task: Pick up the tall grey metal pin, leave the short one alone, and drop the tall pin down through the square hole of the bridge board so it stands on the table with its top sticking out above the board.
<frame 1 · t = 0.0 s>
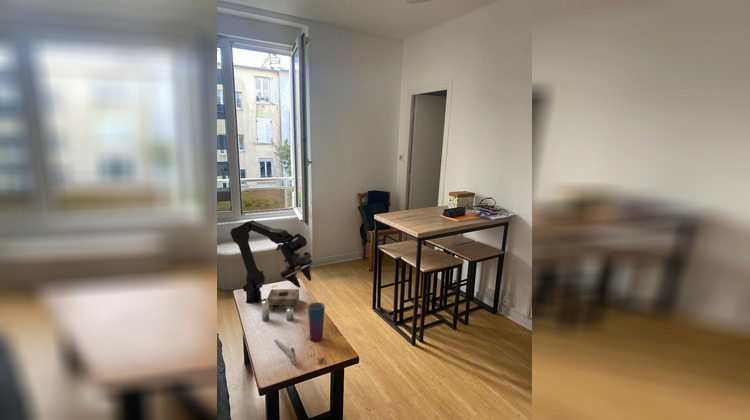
hand: (305, 283, 176), 15 cm above the table, tool tilted 35°, fingers open, 9 cm apart
long pin: (265, 319, 171), on the table
cup: (316, 339, 156), on the table
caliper: (284, 353, 146), on the table
bridge board: (283, 305, 186), on the table
short pin: (290, 319, 172), on the table
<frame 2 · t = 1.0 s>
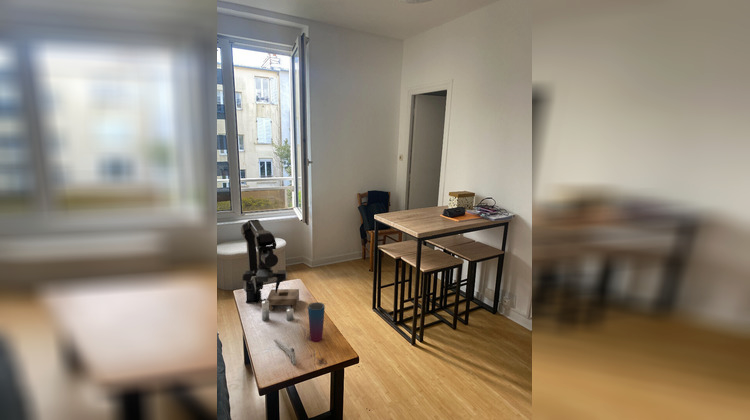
hand: (265, 293, 169), 13 cm above the table, tool pointing down, fingers open, 9 cm apart
nothing on the table moved.
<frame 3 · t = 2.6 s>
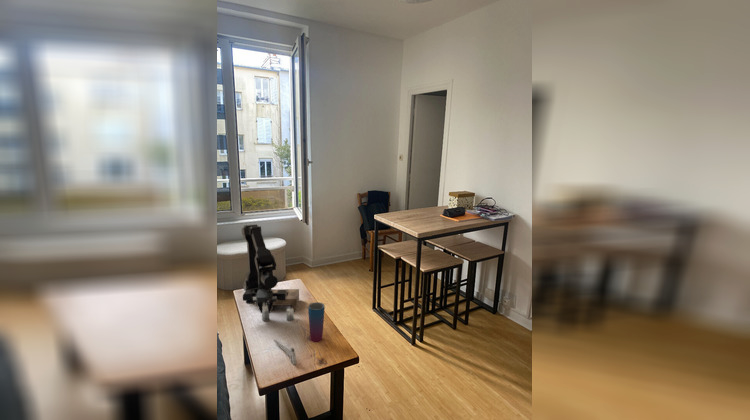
hand: (265, 312, 170), 4 cm above the table, tool pointing down, fingers closed on long pin, 3 cm apart
long pin: (265, 319, 171), on the table, touching gripper
everything else where it was.
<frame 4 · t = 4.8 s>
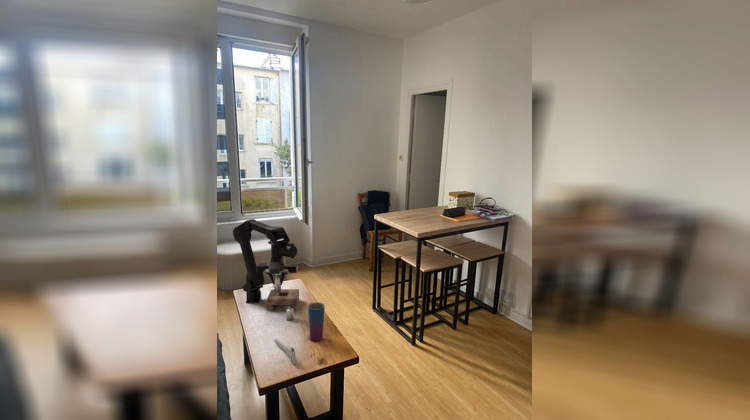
hand: (277, 284, 179), 13 cm above the table, tool pointing down, fingers closed on long pin, 3 cm apart
long pin: (277, 291, 180), point 9 cm above the table, touching gripper
everything else where it was.
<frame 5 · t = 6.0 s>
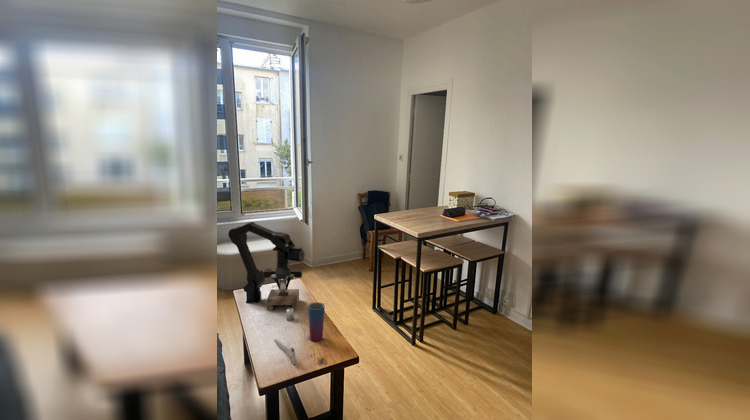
hand: (283, 289, 185), 8 cm above the table, tool pointing down, fingers closed on long pin, 3 cm apart
long pin: (283, 296, 185), point 5 cm above the table, touching gripper
everything else where it was.
when the fingers open (7 cm above the table, at t = 6.9 s): long pin drops 3 cm, on the table.
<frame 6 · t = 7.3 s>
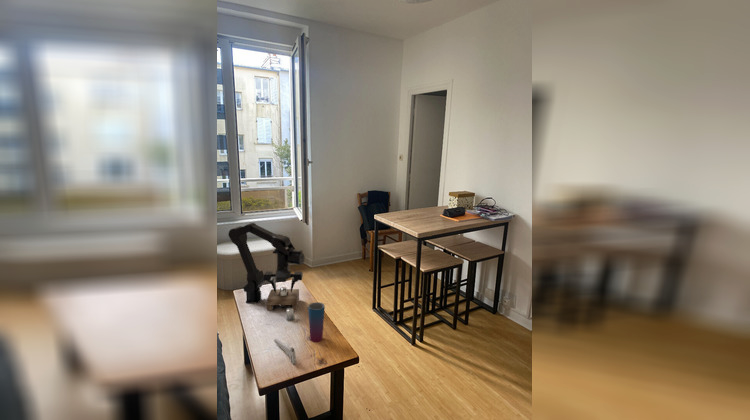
hand: (283, 292, 185), 7 cm above the table, tool pointing down, fingers open, 7 cm apart
long pin: (283, 305, 186), on the table
everything else where it was.
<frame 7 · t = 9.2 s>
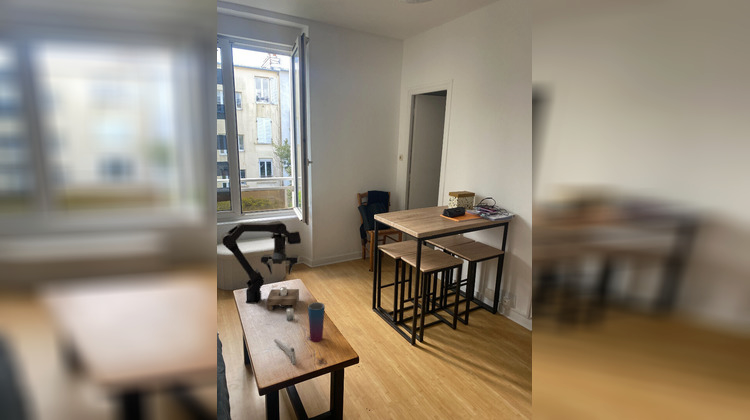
hand: (280, 274, 195), 12 cm above the table, tool pointing down, fingers open, 9 cm apart
nothing on the table moved.
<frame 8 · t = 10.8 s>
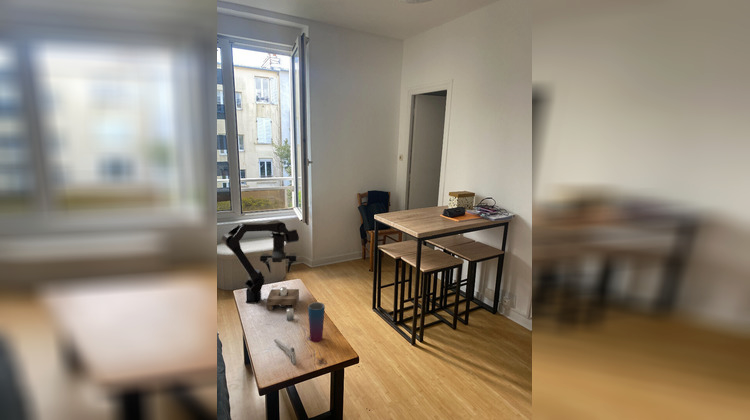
hand: (279, 272, 197), 12 cm above the table, tool pointing down, fingers open, 9 cm apart
nothing on the table moved.
at the end: long pin 0.0 cm off-centre on the bridge board, point 0.0 cm above the bridge board's base; long pin tilted 0°; short pin moved 0.0 cm from its start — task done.
